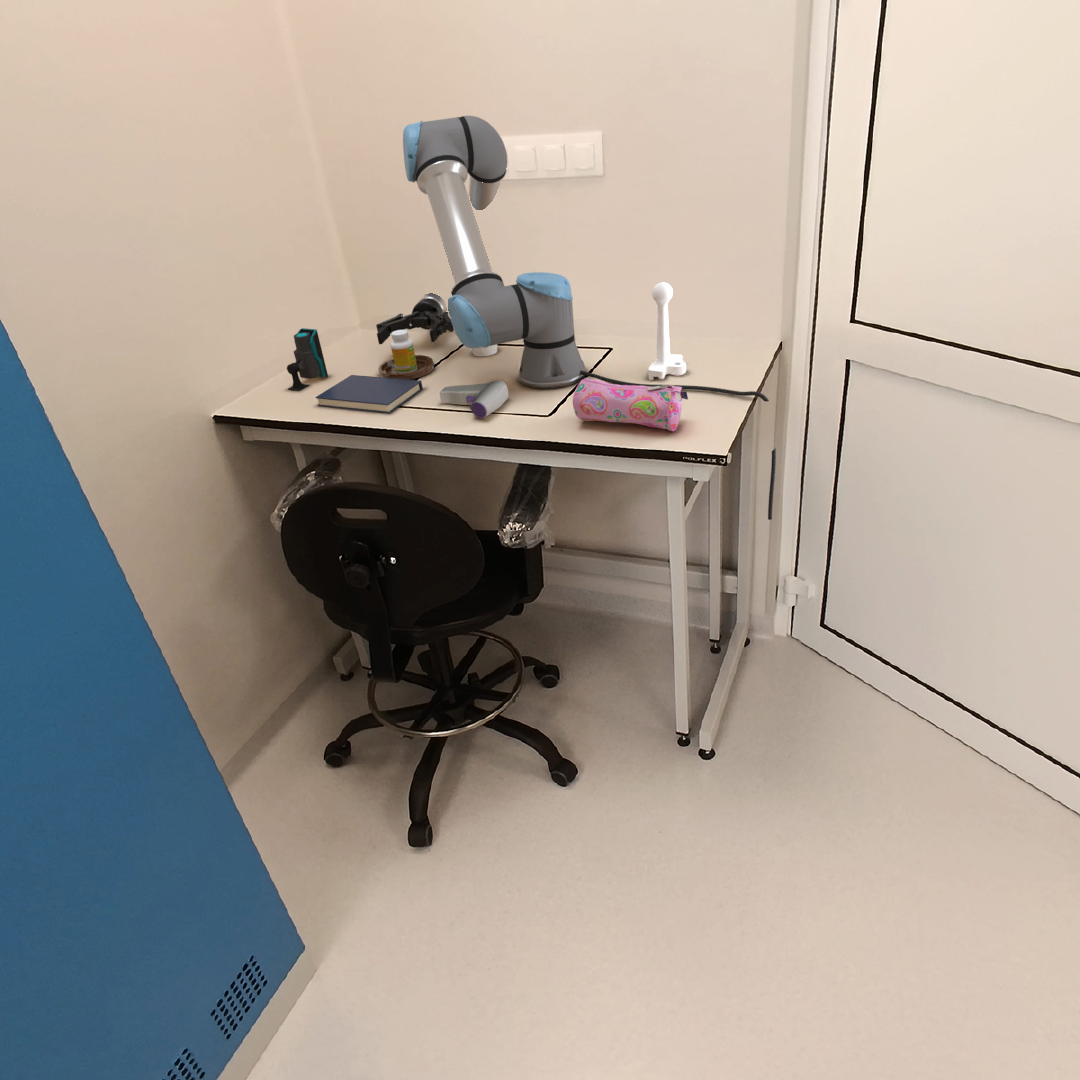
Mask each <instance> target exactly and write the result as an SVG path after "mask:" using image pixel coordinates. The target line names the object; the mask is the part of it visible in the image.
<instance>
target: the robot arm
mask: <svg viewBox="0 0 1080 1080" xmlns="http://www.w3.org/2000/svg"><path fill="white" fill-rule="evenodd" d="M402 149H403V150H402V151H403V161H404V170H405V175H406V179H407V181H408V182H410V183H416V184H417V187H418V189H419V191H420V192H421V193H423V194H424V195H427V198H428V200H429V203H430V206H431V209H432V213H433V216H434V219H435V223H436V226H437V229H438V232H439V236H440V239H441V241H442V242H443V246H444V249H445V252H446V255H447V258H448V262H449V265H450V268H451V271H452V275H453V276H452V278H453V281H454V285H453V286H452V287H453V288H452V291H451V294H452V297H450V298H449V299H448V311H449V312H446V311H447V307H446V304H445V302H444V300H443V299H442V298H441V297H440V296H438V295H436V294H433V293H429V294H426V295H425V294H424V295H423V297H422V298H421V299H420V300H418V302H417V303H416V304H415V305H414V306H413V308H412V311H411V313H410V314H406V315H404V313H398V314H397V315H396V316H393V317H391V318H388V319H387V320H384V321H381V322H379V323H376V324H375V327H376V330H377V331H376V332H377V333H376V337H377V341H378V345H383V344H384V343H385V342H386V341H387V340H388V339H389V338H390V337H391V333H392V332H394V331H397V330H413V329H422V330H426V331H427V330H429V332H428V333H429V337H430V343H435V342H436V340H438V338H439V337H440V336H443V334H445V333H447V331H448V332H450V333H452V332H453V333H454V332H455V335H456V337H457V339H458V340H459V341H460V343H461V344H462V345H463V346H465V348H468V349H471V350H472V349H473V348H480V347H484V348H486V347H488V346H492V345H496V344H497V345H501V344H505V343H509V342H514V341H519V340H523V351H522V355H521V359H520V360H521V361H520V366H519V367H517V369H518V370H517V371H518V374H519V375H518V376H519V377H518V378H519V382H520V384H522V385H524V386H526V387H529V388H533V389H541V390H542V389H543V390H545V389H546V390H547V389H549V390H550V389H559V388H563V387H567V386H572V385H574V384H576V383H578V382H581V380H583V379H585V376H586V377H588V378H592V379H595V380H601V381H604V382H606V383H610V384H615V385H635V386H649V387H655V386H661V385H662V384H652V383H651V384H650V383H635V382H629V381H623V380H618V379H614V378H609V377H605V376H604V375H603V376H602V375H599V374H595V373H592V372H589V371H586V367H585V363H584V361H583V360H582V357H581V354H580V352H579V348H578V347H577V343H576V338H575V337H576V336H575V323H574V321H575V320H574V308H573V300H574V298H573V294H572V288H571V281H570V280H569V279H568V278H567V277H565V276H564V275H562V274H558V273H554V272H544V271H539V272H537V271H534V272H524V273H522V274H518V276H516V280H515V282H516V283H515V284H510V285H505V284H504V281H503V278H502V276H501V275H500V274H498V272H495V271H493V268H491V266H490V263H489V259H488V256H487V253H486V250H485V247H484V244H483V241H482V238H481V235H480V231H479V228H478V225H477V222H476V219H475V216H474V213H473V210H472V207H471V203H472V206H473V207H474V208H475V209H476V210H483V209H485V208H486V207H487V206H488V205H489V204H490V203H491V202H492V201H493V199H494V197H495V195H496V193H497V190H498V188H499V185H500V186H501V183H500V181H501V182H502V180H503V179H504V178H505V176H506V174H507V169H506V168H508V153H507V149H506V146H505V143H504V141H503V138H502V137H501V135H500V134H499V132H498V130H497V129H495V127H494V126H493V125H491V124H490V123H489V121H486V120H485V119H483V118H481V117H479V116H475V115H462V116H456V117H449V118H442V119H435V120H429V121H423V120H420V121H419V122H413V123H409V124H407V125H406V126H405V127H404V128H403V131H402ZM468 176H469V184H468V185H469V186H468V191H467V189H466V185H465V183H466V181H467V180H468ZM482 182H483V183H482ZM469 196H470V200H469ZM470 201H471V203H470ZM665 385H666V386H668V385H669V384H665ZM672 385H673V386H676V387H677V386H678V387H682V389H681V390H691V391H693V390H694V391H705V392H706V391H707V392H712V393H713V392H714V393H721V394H726V395H733V396H741V397H747V396H750V397H751V396H756V397H758V398H760V399H761V400H762V401H764V402H769V401H770V399H769V398H768V397H767V396H766V395H764V393H762V392H759V391H756V390H755V391H754V390H751V391H750V390H749V391H740V390H731V389H727V388H719V387H712V386H701V385H686V384H685V385H683V384H682V385H681V384H672ZM776 462H777V447H774V449H773V450H771V468H770V480H769V481H770V482H769V492H768V508H767V520H769V521H772V520H773V502H774V490H775V479H776V464H777V463H776Z"/></svg>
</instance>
